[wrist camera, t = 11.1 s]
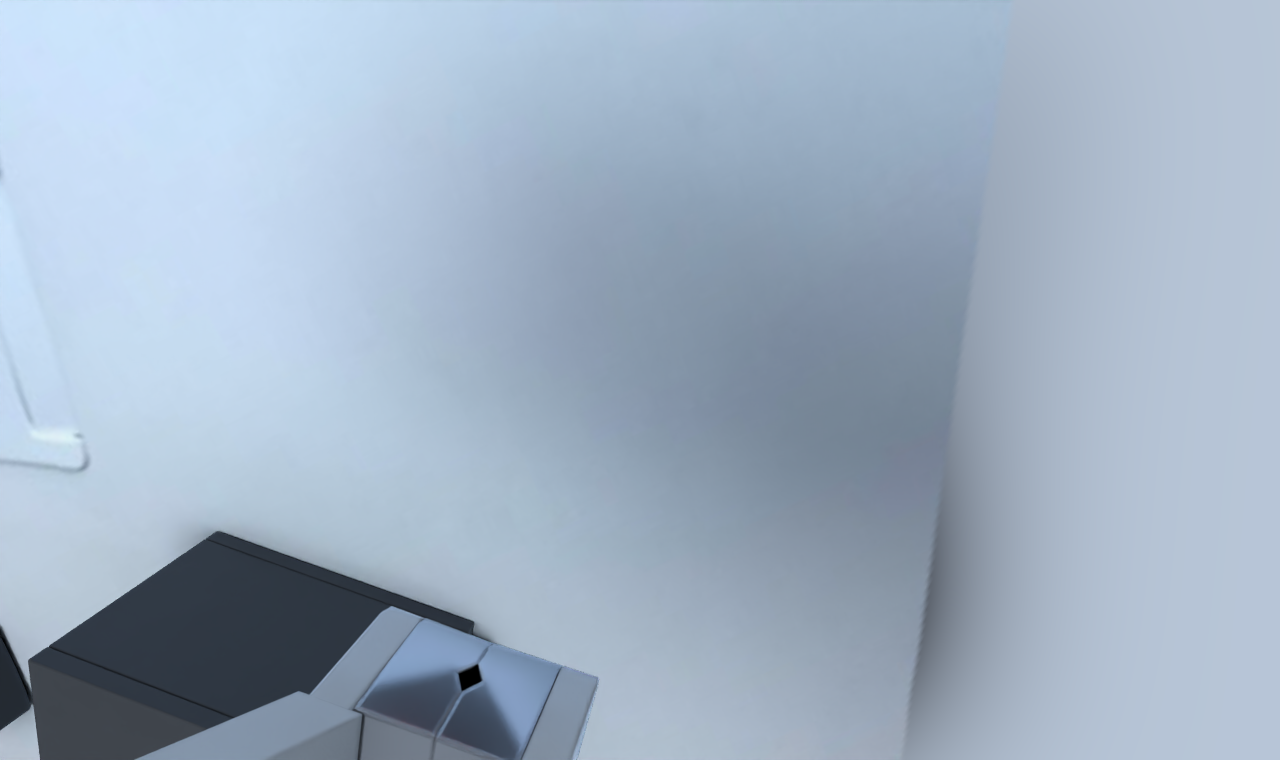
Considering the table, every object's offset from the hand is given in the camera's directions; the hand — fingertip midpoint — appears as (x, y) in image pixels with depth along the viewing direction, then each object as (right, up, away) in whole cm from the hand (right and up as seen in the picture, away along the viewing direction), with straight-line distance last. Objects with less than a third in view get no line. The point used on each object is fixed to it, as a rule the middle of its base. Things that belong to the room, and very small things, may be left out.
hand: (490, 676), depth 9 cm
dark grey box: (-15, -12, +28) cm, 34 cm away
